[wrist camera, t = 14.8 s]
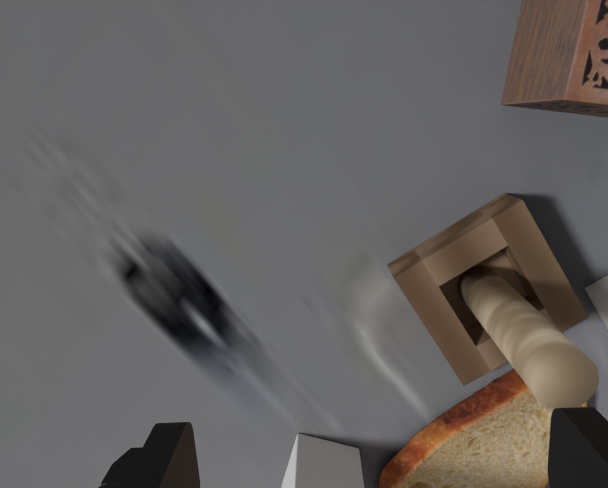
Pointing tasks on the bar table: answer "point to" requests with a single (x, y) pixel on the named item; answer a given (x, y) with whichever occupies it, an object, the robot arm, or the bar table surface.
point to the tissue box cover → (560, 57)
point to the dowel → (529, 340)
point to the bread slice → (479, 443)
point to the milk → (323, 465)
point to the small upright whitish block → (600, 297)
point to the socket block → (501, 258)
